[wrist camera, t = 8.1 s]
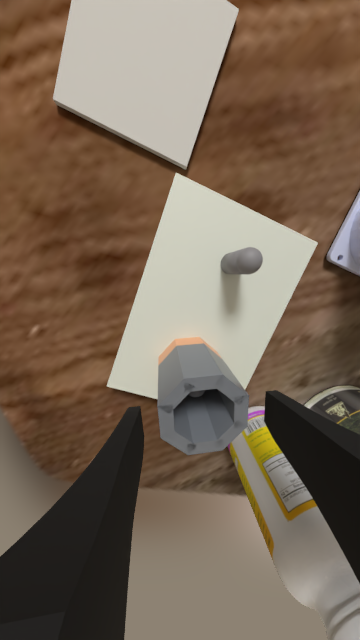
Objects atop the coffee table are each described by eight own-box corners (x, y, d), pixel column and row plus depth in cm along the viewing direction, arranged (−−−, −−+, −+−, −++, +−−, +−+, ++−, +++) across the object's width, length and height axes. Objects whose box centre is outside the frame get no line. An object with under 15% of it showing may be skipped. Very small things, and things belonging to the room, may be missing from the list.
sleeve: (216, 335, 16) (250, 371, 10) (216, 387, 17) (246, 446, 11) (156, 340, 15) (154, 381, 9) (161, 393, 16) (162, 458, 11)
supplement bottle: (260, 460, 21) (400, 723, 9) (212, 442, 20) (299, 723, 7) (294, 415, 20) (509, 643, 8) (246, 393, 19) (413, 626, 6)
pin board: (306, 245, 16) (371, 232, 11) (226, 409, 19) (249, 455, 14) (174, 181, 14) (182, 129, 9) (110, 378, 17) (90, 420, 12)
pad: (236, 17, 12) (238, 9, 11) (185, 169, 13) (186, 166, 13) (92, -83, 10) (90, -97, 10) (56, 104, 12) (53, 98, 11)
